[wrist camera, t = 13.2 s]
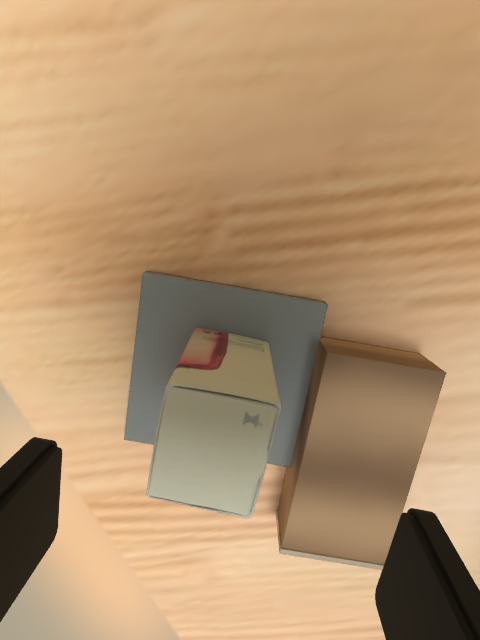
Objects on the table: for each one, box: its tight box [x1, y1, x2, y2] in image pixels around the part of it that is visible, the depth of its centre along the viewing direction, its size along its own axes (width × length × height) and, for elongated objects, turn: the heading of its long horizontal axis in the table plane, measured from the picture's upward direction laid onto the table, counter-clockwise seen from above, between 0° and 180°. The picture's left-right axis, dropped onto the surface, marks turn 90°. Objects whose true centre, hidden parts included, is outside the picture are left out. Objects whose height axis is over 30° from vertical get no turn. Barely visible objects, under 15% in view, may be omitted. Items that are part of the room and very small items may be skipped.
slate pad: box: [124, 271, 327, 467], centre depth 22 cm, size 10×10×1 cm
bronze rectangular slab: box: [276, 337, 446, 570], centre depth 22 cm, size 12×6×3 cm, turn 170°
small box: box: [147, 328, 281, 518], centre depth 18 cm, size 5×4×8 cm
